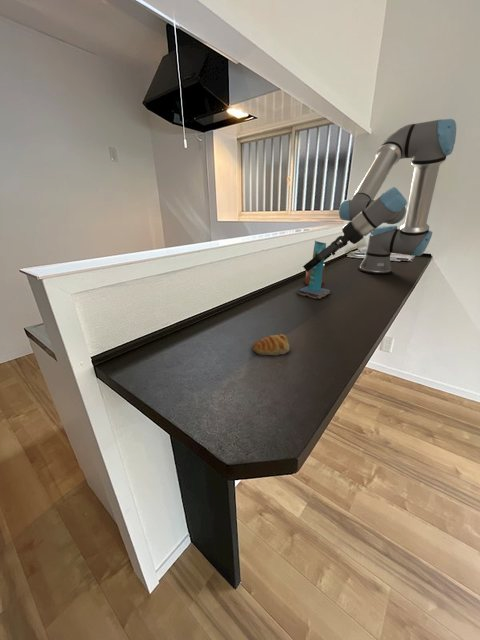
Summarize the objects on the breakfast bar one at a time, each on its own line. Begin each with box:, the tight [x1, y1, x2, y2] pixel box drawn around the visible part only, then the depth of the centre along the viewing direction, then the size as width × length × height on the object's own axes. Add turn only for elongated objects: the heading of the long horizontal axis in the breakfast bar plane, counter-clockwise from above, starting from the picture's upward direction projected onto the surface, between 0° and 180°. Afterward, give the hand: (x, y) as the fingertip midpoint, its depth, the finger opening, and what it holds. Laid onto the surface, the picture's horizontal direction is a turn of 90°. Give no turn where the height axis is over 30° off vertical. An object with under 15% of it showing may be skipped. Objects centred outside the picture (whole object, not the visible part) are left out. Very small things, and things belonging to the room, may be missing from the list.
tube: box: [309, 240, 327, 291], centre depth 105 cm, size 7×5×19 cm, turn 23°
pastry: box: [252, 333, 290, 356], centre depth 70 cm, size 9×7×4 cm
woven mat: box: [297, 285, 331, 300], centre depth 110 cm, size 10×11×2 cm
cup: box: [304, 263, 326, 286], centre depth 121 cm, size 8×8×9 cm
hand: (311, 265), depth 106 cm, fingers open, 13 cm apart
